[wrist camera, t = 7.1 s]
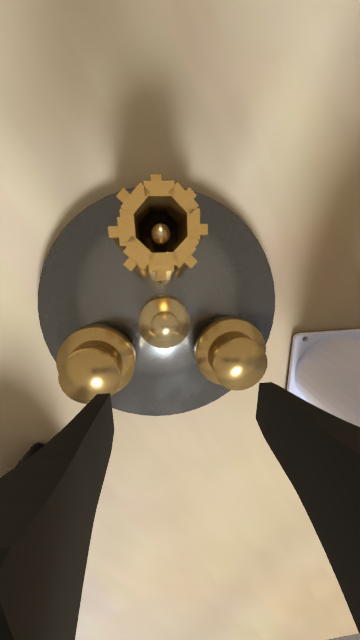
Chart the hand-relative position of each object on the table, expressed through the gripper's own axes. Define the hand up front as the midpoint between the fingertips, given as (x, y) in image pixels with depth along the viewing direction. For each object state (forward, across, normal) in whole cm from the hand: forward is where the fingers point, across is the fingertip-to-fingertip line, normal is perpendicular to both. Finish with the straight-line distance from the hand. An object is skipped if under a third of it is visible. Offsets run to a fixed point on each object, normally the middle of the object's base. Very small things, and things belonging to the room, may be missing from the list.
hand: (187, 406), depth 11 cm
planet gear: (+9, +1, -8) cm, 12 cm away
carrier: (+10, +1, -2) cm, 10 cm away
